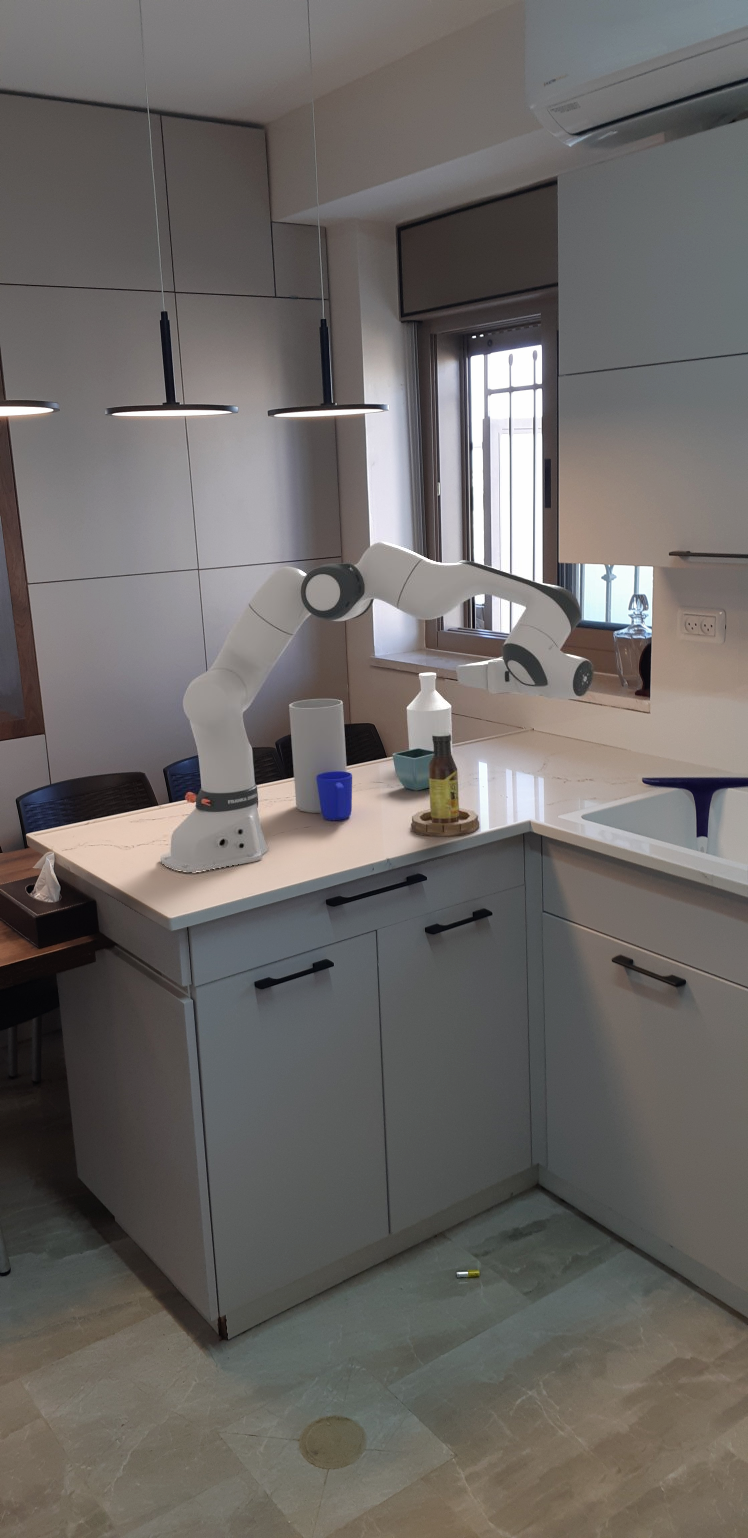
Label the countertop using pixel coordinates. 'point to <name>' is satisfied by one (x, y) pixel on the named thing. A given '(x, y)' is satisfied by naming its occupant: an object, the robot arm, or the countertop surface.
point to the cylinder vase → (315, 746)
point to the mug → (335, 794)
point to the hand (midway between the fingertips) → (475, 666)
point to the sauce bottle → (443, 782)
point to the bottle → (428, 715)
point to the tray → (427, 828)
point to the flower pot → (413, 768)
